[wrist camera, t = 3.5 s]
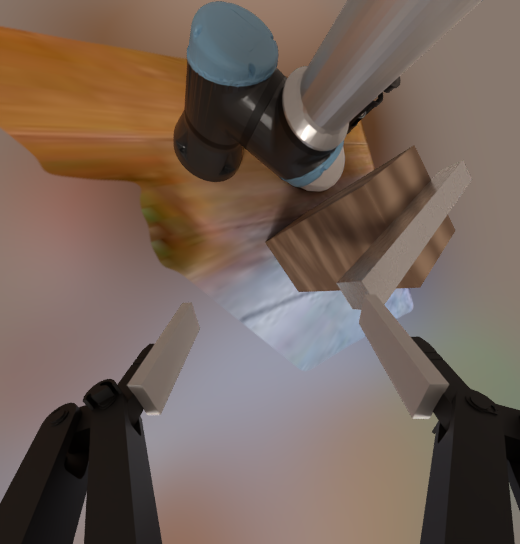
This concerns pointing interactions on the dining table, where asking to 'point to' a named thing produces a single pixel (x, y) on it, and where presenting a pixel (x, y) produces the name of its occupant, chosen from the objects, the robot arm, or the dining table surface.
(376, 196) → the walnut stand
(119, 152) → the dining table surface
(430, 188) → the metal bar
